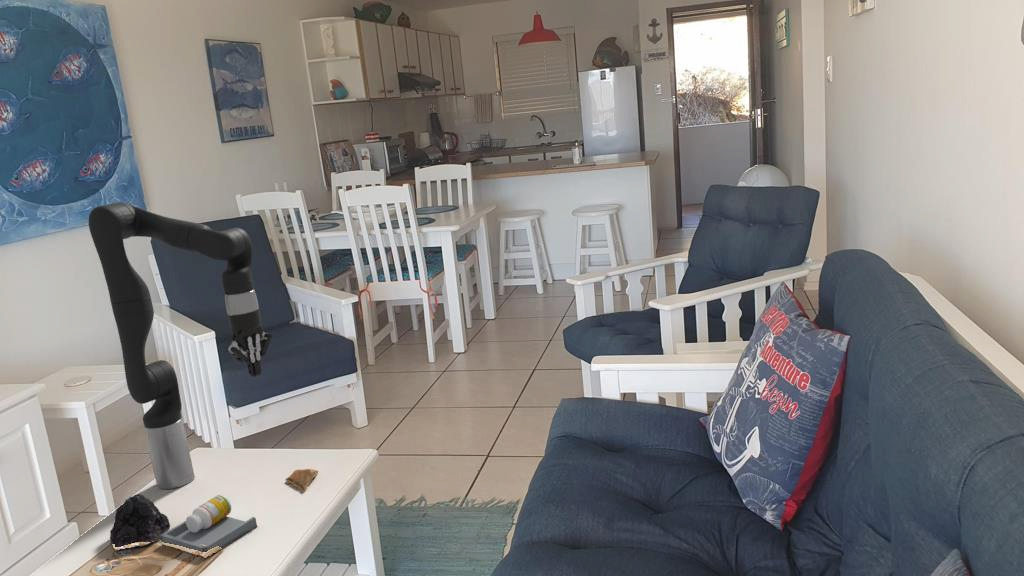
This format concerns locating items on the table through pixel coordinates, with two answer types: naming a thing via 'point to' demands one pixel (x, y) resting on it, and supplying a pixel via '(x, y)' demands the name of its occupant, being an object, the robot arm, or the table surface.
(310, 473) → the shard
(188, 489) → the table surface
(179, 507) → the table surface
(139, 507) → the crystal cluster
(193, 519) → the supplement bottle
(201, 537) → the tray
